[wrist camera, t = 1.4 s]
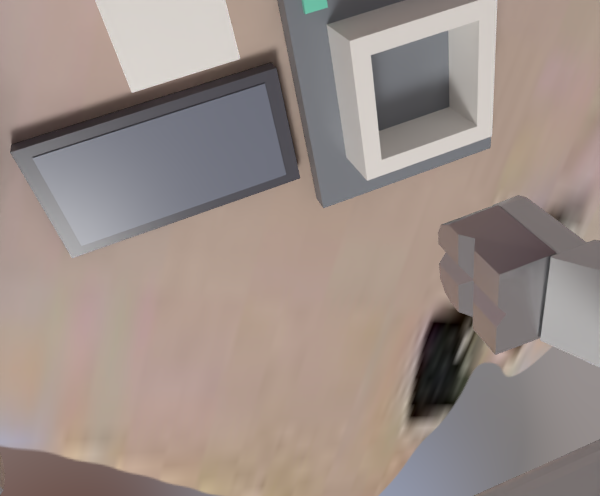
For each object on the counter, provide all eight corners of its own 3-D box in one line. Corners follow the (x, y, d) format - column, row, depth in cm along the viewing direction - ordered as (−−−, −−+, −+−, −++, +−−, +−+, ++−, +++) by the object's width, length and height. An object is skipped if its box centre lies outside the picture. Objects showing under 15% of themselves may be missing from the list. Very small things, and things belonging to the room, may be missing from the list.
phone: (71, 249, 33) (72, 258, 32) (11, 144, 29) (10, 152, 28) (295, 171, 35) (300, 178, 34) (271, 62, 31) (276, 68, 30)
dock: (271, -32, 28) (298, -14, 25) (485, -94, 30) (537, -85, 26) (316, 198, 37) (341, 233, 34) (480, 140, 38) (518, 168, 35)
